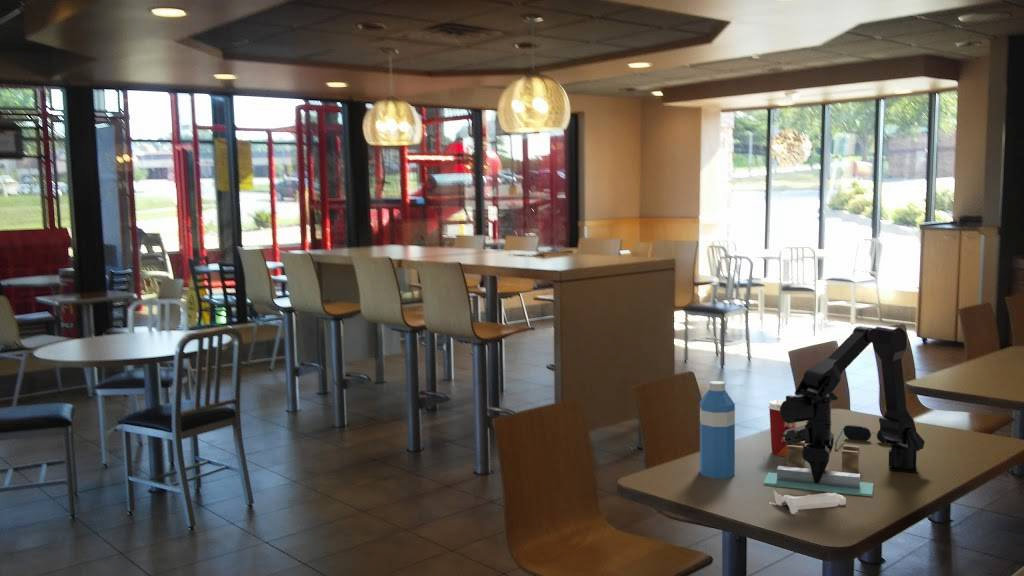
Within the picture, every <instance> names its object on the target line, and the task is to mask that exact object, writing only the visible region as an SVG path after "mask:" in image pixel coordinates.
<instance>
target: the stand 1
mask: <svg viewBox="0 0 1024 576" xmlns="http://www.w3.org/2000/svg"><path fill="white" fill-rule="evenodd" d="M805 446H806V444H805V441H802V442H798V443H794V444H793V445H787V456H786V467H795V468H805V464H806V461H805V460H804V459H803V458H802V451H803V448H804V447H805Z"/></svg>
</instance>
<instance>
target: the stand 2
mask: <svg viewBox="0 0 1024 576" xmlns="http://www.w3.org/2000/svg"><path fill="white" fill-rule="evenodd" d="M841 472H845V473H855V474H860V446H857V445H849V444H848V445H846V444H843V447H842V449H841Z"/></svg>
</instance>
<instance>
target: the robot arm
mask: <svg viewBox="0 0 1024 576" xmlns="http://www.w3.org/2000/svg"><path fill="white" fill-rule="evenodd" d="M907 340H908V337H907V332H906V331H905V330H904V329H903V328H901V327H896V326H890V325H889V326H888V325H884V324H883V325H882V324H881V325H880V324H879V325H877V326H876V327H875V328H874V327H870V326H863V325H859V326H855V327H854V329H853V330H852V333H851V334H850V335H849V336H848V337H847V338H846V339H845V340H844V341H843V342H842V343H841V344H840V345H839V346H838V347H837V348H836V349H835V350H834V351H833V352H832V353H831V355H829V357H828V358H826V359H824V360H823V361H820V362H818V363H815V364H813V365H812V366H811V367H810V368H808V369H807V370H806V371H805V372H804V373H803V378H802V379H801V381H800V383H799V384H798V386H797V388H796V390H795V391H794V395H786V396H785V400H786V401H784V402H783V403H782V405H781V407H780V414H781V417H782V419H783V420H784V421H785V422H786V423H795V422H796V423H801V422H806V423H805V424H804V425H800V426H796V427H795V428H791V429H788V430H785V432H784V437H785V441H786V442H787V445H793V444H794V443H798V442H802V441H804V442H805V447H804V448H803V451H802V458H803V459H804V460H805V462H807V463H808V464H809V467H810V469H811V471H812V475H813V479H814V483H819V482H820V480H821V477H822V475H823V473H824V471H826V468H827V466H828V464H829V462H830V457H831V455H830V454H831V452H832V450H833V447H834V443H835V435H834V433H833V432H832V431H831V429H832V401H838V400H839V397H838V396H837V395H835V393H833V392H834V391H835V389H836V388H837V386H838V385H839V384H840V382H841V380H842V379H841V378H842V374H843V372H844V371H846V369H847V368H848V367H849V366H850V365H851V364H852V363H853V362H854V361H855V359H857V357H859V355H861V354H862V353H863V352H864V351H865V349H866V348H867V347H868V346H869V345H870V344H871V343H872V347H873V350H874V351H875V353H876V354H877V355H878V357H879V359H880V361H881V370H882V372H881V373H882V380H883V389H884V398H885V399H884V400H885V408H886V410H885V413H884V415H883V416H882V417H879V418H878V422H879V430H880V432H882V435H883V437H884V440H885V443H884V444H887V445H890V449H888V466H889V467H890V468H889V470H890V471H895V472H905V473H912V474H913V473H914V474H915V473H918V468H917V467H918V466H917V454H918V453H917V452H919V451H920V450H923V449H924V445H925V439H923V438H922V437H921V435H920V434H919V433H918V431H917V429H916V424H915V420H914V418H913V417H912V416H911V414H910V412H909V410H908V409H907V401H906V400H907V399H906V391H905V389H906V388H905V382H904V381H905V380H904V373H903V363H902V362H903V361H902V358H903V356H904V354H905V352H906V351H907V345H908V343H907V342H908V341H907Z"/></svg>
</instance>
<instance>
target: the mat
mask: <svg viewBox="0 0 1024 576" xmlns="http://www.w3.org/2000/svg"><path fill="white" fill-rule="evenodd" d="M763 485H764V486H770V487H771V486H772V487H780V488H789V489H797V490H798V489H799V490H806V491H807V490H808V491H815V492H823V493H827V492H830V493H834V492H835V493H836V494H843V495H852V496H863V497H873V492H874V483H873V482H865V481H860V489H853V488H844V487H834V486H825V485H816V484H806V483H797V482H788V481H778V480H777V472H768V473H767V475H766V477H765V479H764V481H763Z"/></svg>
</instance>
